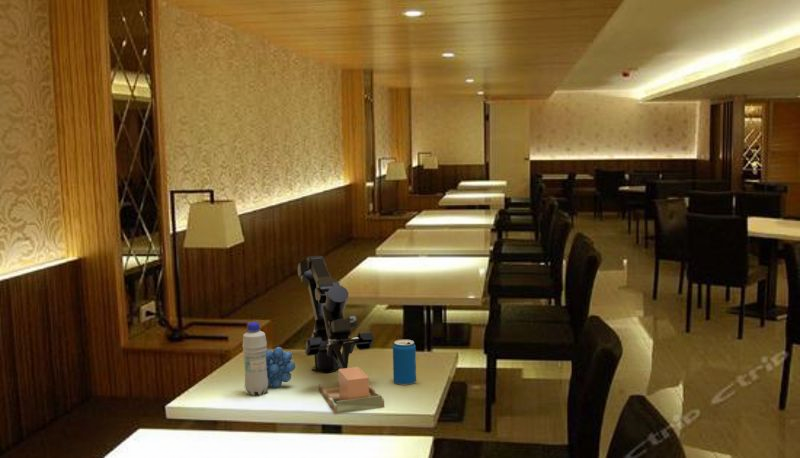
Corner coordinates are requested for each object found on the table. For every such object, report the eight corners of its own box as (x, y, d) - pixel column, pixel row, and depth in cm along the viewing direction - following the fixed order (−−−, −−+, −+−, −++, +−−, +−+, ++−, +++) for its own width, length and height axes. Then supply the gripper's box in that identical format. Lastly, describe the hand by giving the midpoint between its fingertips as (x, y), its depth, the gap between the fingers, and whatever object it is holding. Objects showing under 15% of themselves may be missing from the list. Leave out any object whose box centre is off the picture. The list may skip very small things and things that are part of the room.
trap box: (318, 391, 210) (318, 378, 210) (363, 385, 214) (363, 373, 214) (335, 415, 191) (334, 402, 191) (384, 408, 195) (384, 395, 195)
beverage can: (414, 387, 211) (413, 345, 210) (391, 386, 213) (390, 344, 211) (418, 380, 218) (417, 339, 216) (396, 379, 219) (395, 338, 218)
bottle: (249, 398, 205) (245, 326, 203) (241, 391, 211) (238, 321, 209) (272, 393, 209) (269, 322, 206) (264, 387, 214) (261, 318, 212)
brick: (339, 398, 202) (338, 369, 201) (359, 395, 204) (358, 366, 203) (348, 410, 193) (347, 380, 192) (369, 407, 195) (368, 377, 194)
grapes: (298, 383, 217) (297, 342, 216) (294, 391, 210) (293, 349, 209) (258, 383, 218) (256, 343, 216) (253, 391, 211) (251, 349, 210)
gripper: (305, 309, 206) (315, 360, 197) (371, 303, 211) (383, 352, 203) (301, 330, 214) (310, 380, 205) (364, 323, 220) (376, 372, 211)
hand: (345, 370), depth 206 cm, fingers closed
